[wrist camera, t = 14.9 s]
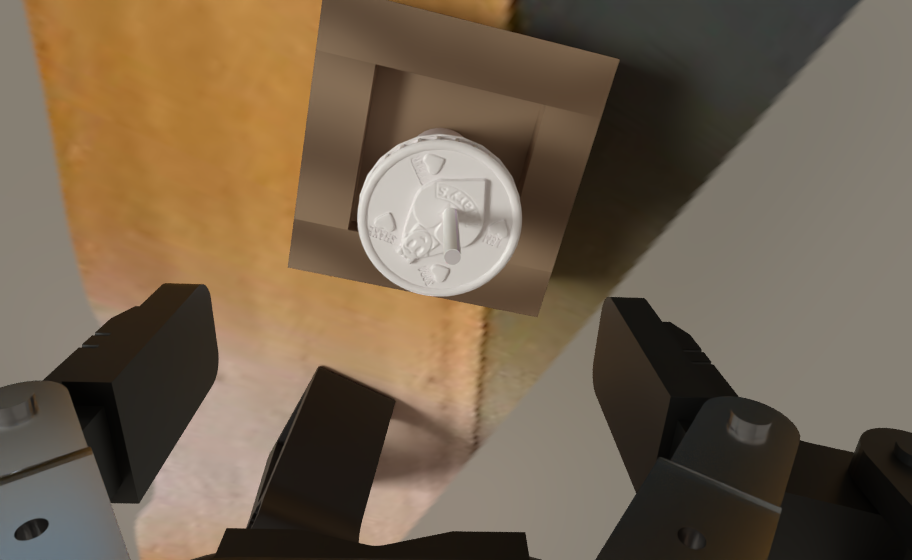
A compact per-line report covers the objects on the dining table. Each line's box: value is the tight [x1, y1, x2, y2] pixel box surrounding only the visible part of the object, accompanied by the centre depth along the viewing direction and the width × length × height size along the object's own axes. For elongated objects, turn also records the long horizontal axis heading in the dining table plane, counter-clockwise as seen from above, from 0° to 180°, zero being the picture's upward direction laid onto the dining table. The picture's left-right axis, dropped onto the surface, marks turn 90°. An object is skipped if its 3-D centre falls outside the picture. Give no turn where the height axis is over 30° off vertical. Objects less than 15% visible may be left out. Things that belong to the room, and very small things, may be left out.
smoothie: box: [357, 128, 522, 297], centre depth 25 cm, size 6×6×14 cm
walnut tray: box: [288, 0, 620, 317], centre depth 33 cm, size 14×14×6 cm
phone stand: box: [246, 367, 395, 543], centre depth 38 cm, size 9×6×12 cm, turn 150°
